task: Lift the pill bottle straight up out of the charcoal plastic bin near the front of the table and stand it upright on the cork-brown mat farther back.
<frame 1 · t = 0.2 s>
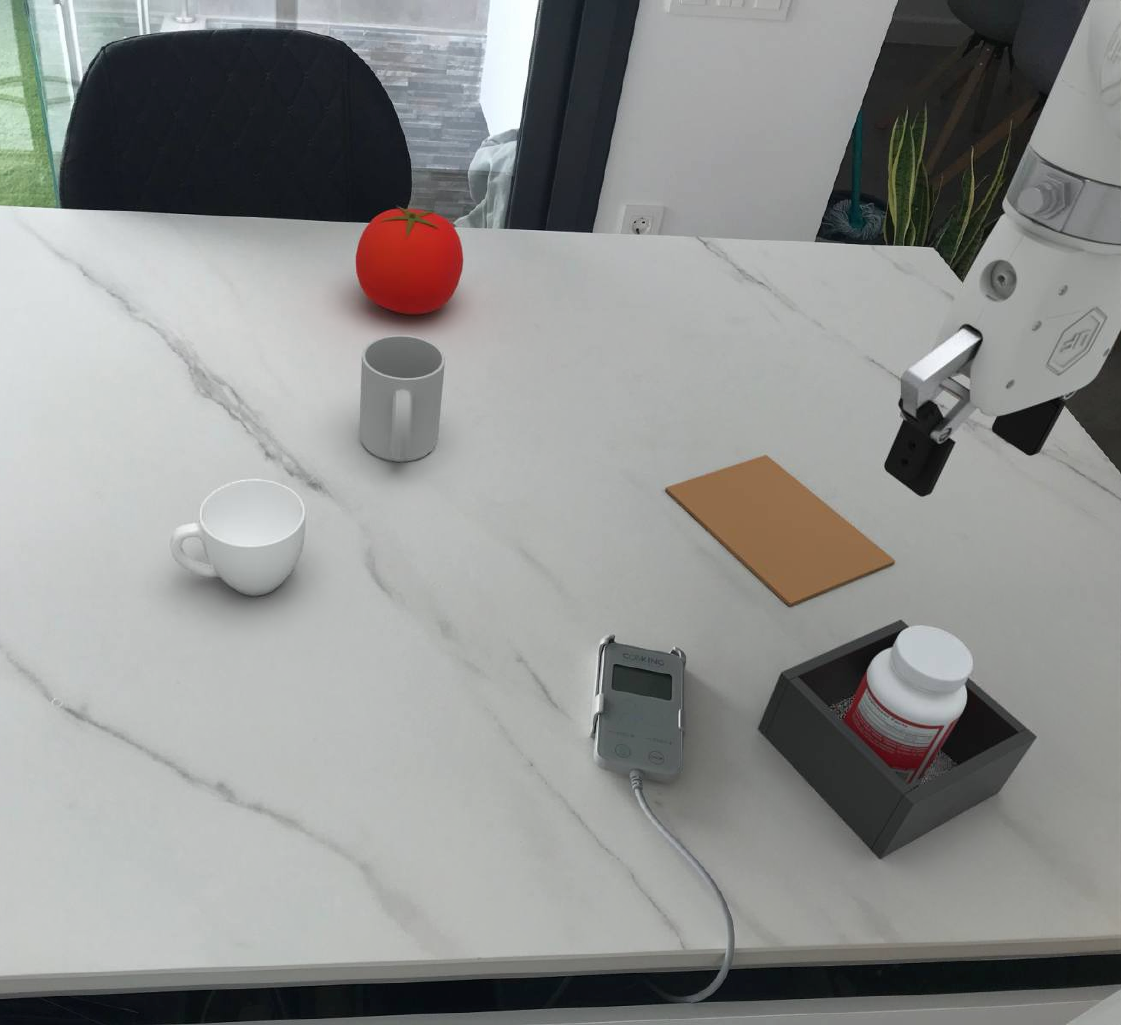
hand: (961, 462, 66), 21 cm above the table, tool pointing down, fingers open, 9 cm apart
pill bottle: (875, 761, 75), resting in bin
cup 2: (241, 580, 84), on the table
cork mat: (776, 526, 94), on the table
tomato: (406, 305, 118), on the table
cup: (398, 450, 98), on the table
bin: (876, 759, 75), on the table
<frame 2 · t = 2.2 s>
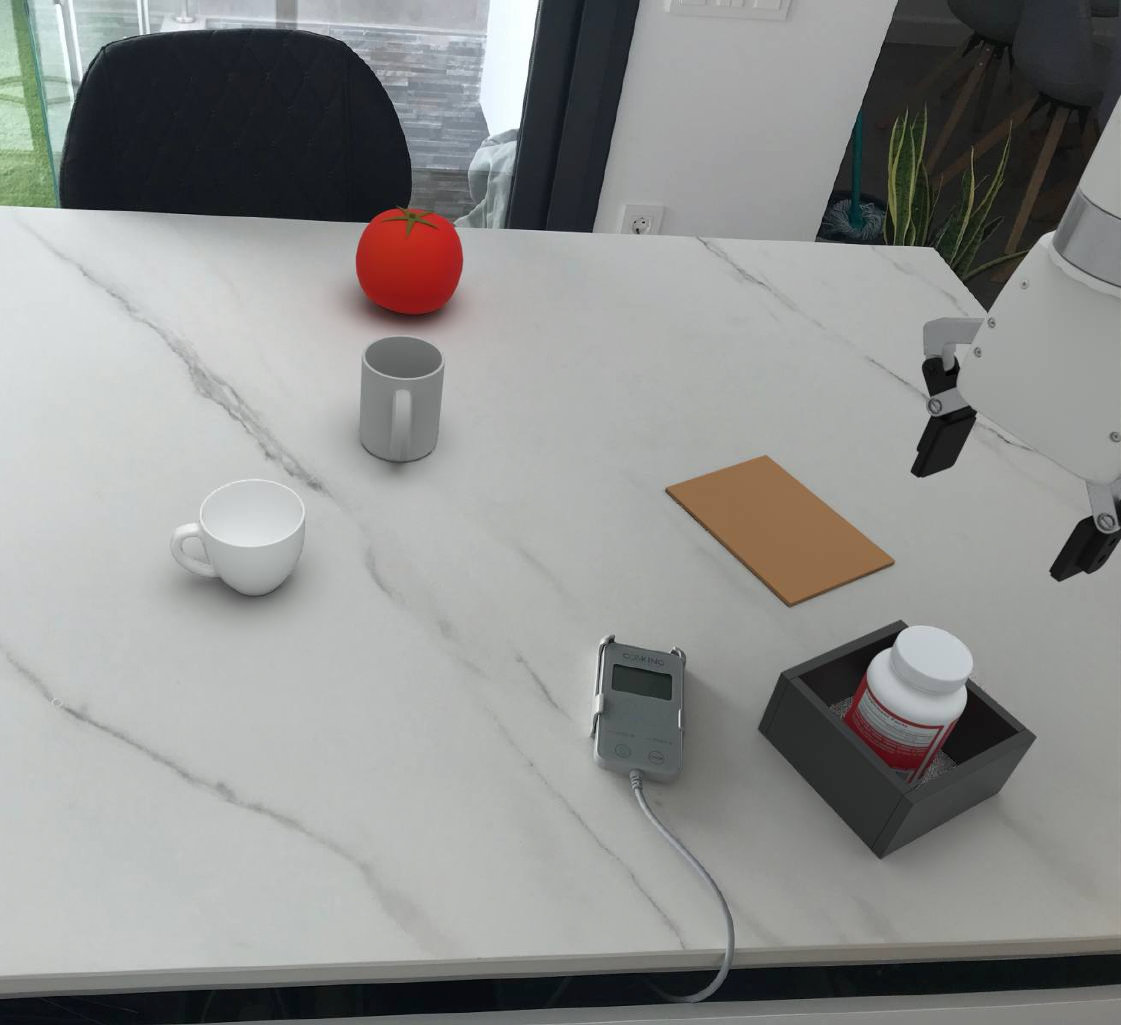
hand: (996, 518, 62), 21 cm above the table, tool pointing down, fingers open, 9 cm apart
nothing on the table moved.
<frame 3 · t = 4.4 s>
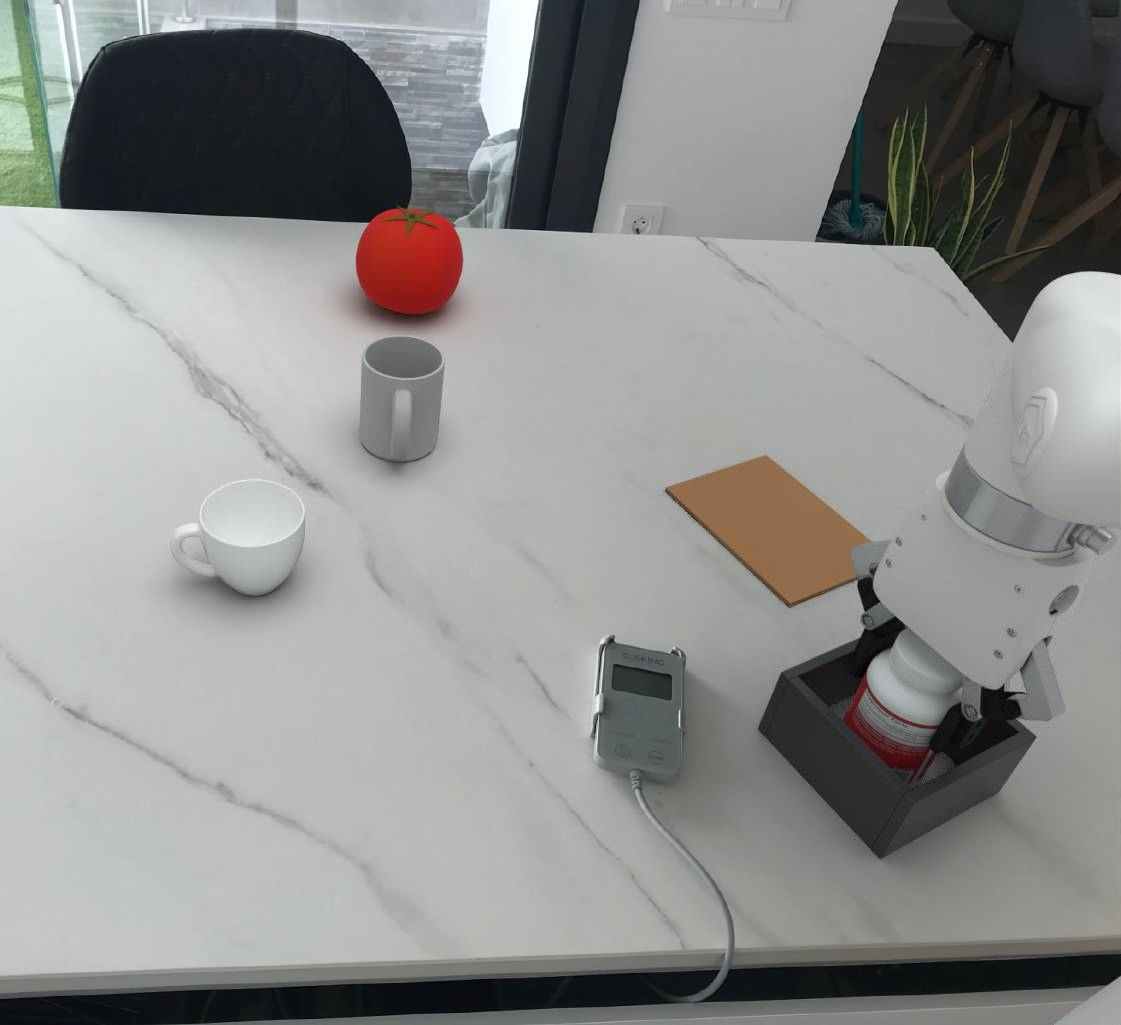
hand: (906, 703, 71), 6 cm above the table, tool pointing down, fingers closed on pill bottle, 6 cm apart
pill bottle: (875, 761, 75), resting in bin, touching gripper
everything else where it was.
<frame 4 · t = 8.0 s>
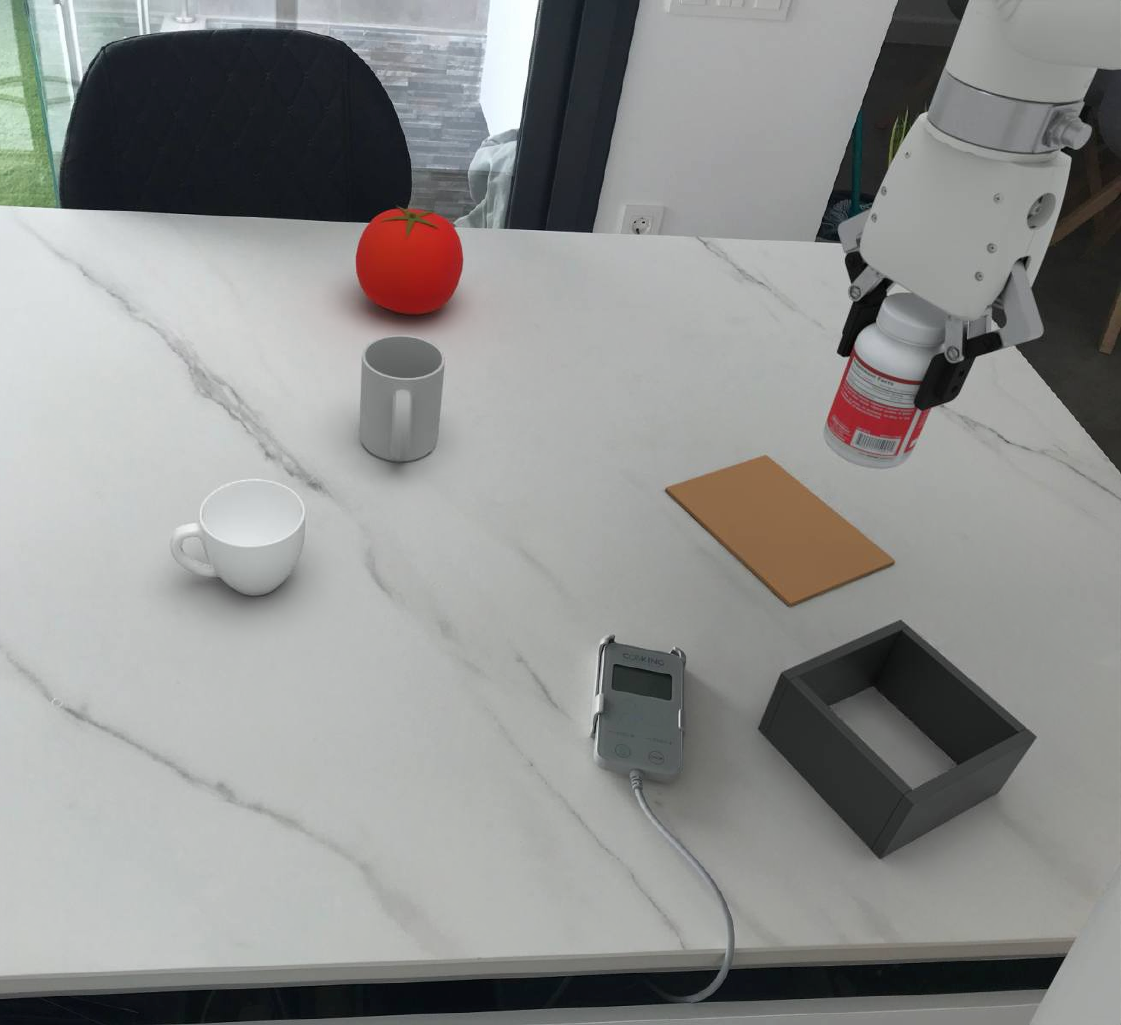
hand: (893, 375, 73), 21 cm above the table, tool pointing down, fingers closed on pill bottle, 6 cm apart
pill bottle: (863, 448, 77), point 15 cm above the table, touching gripper
everything else where it was.
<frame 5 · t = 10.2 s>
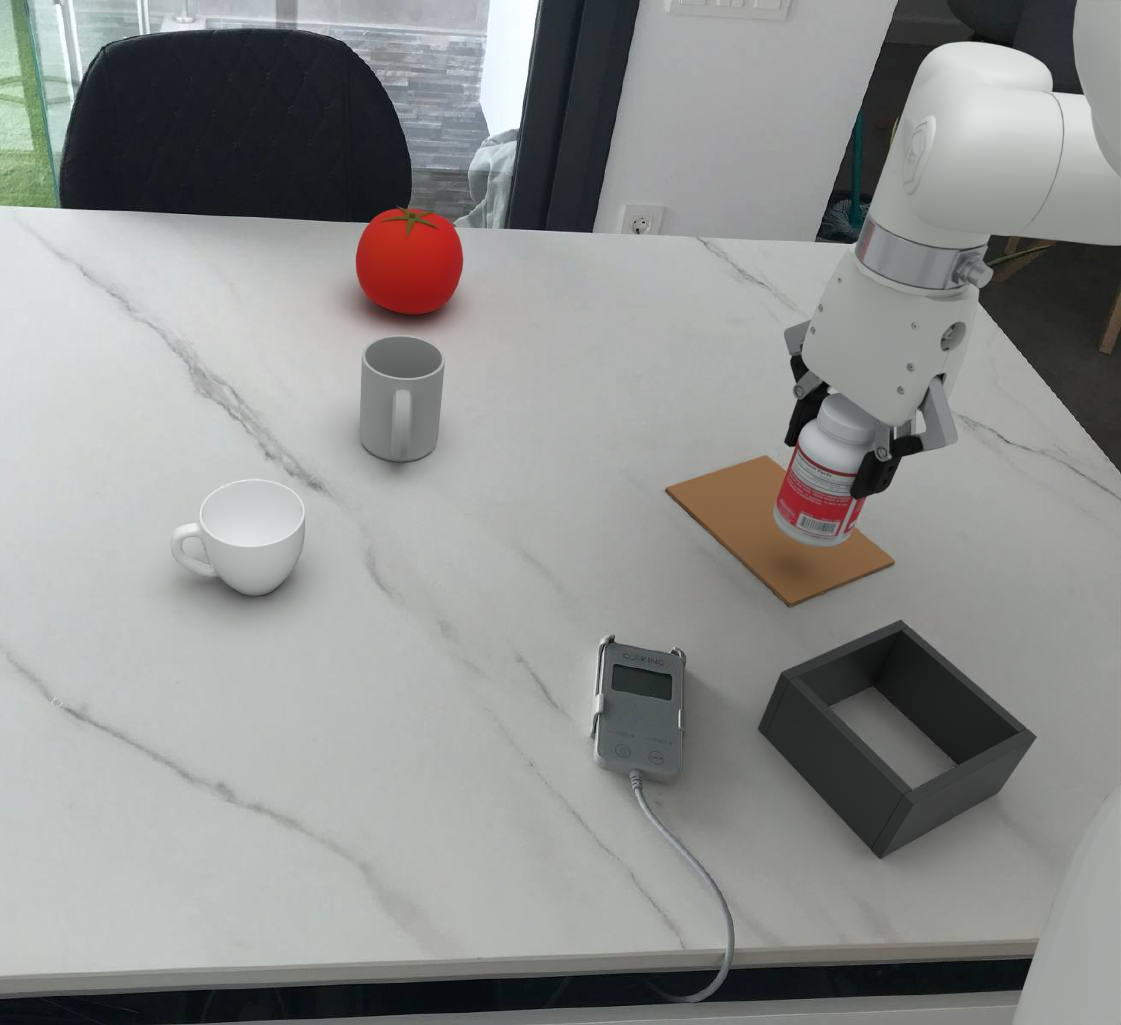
hand: (833, 464, 82), 11 cm above the table, tool pointing down, fingers closed on pill bottle, 6 cm apart
pill bottle: (809, 526, 86), point 5 cm above the table, touching gripper
everything else where it was.
when the fingers open (6 cm above the table, at t = 11.9 s): pill bottle stays where it is, resting on cork mat.
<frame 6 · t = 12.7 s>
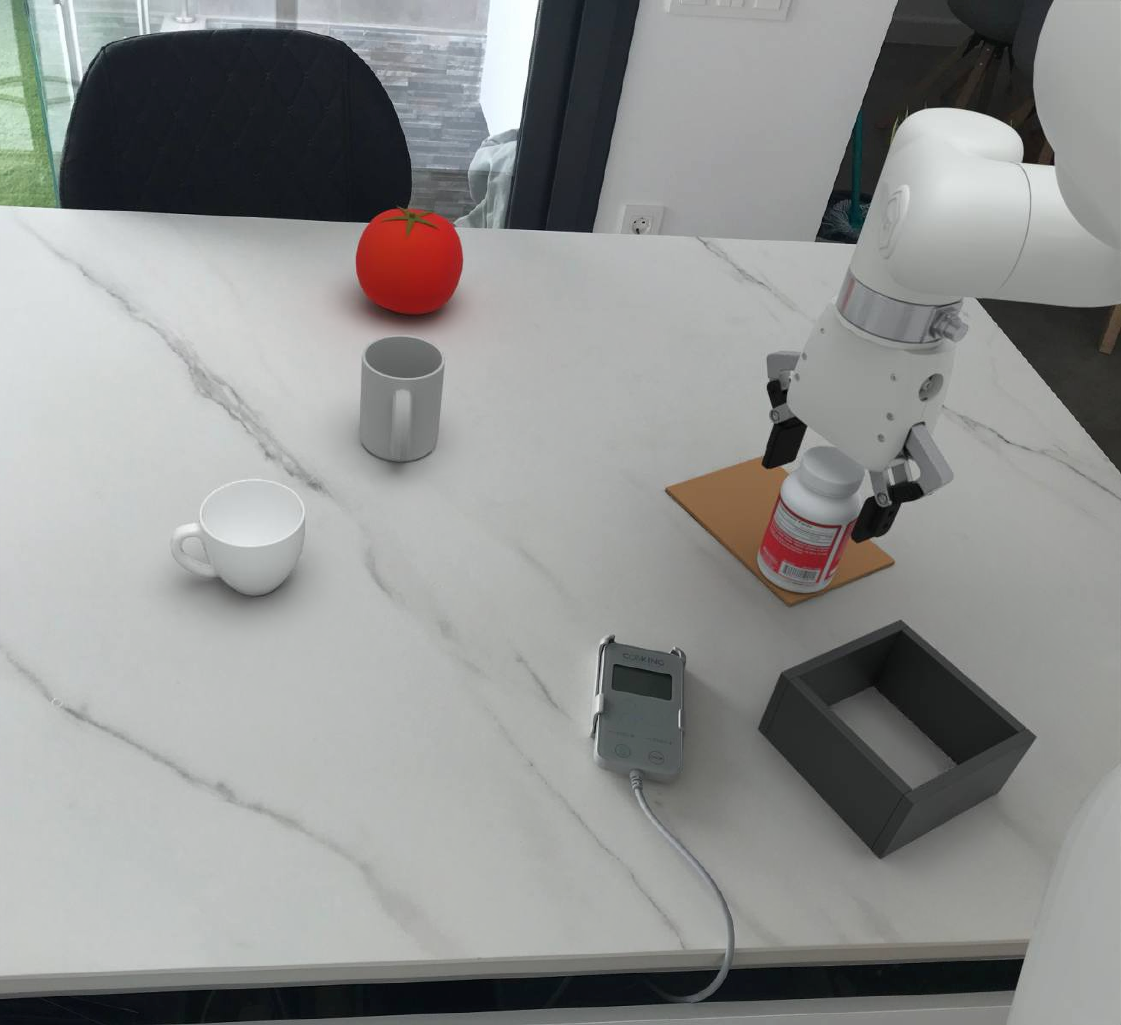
hand: (820, 498, 84), 8 cm above the table, tool pointing down, fingers open, 9 cm apart
pill bottle: (792, 571, 89), resting on cork mat
everything else where it was.
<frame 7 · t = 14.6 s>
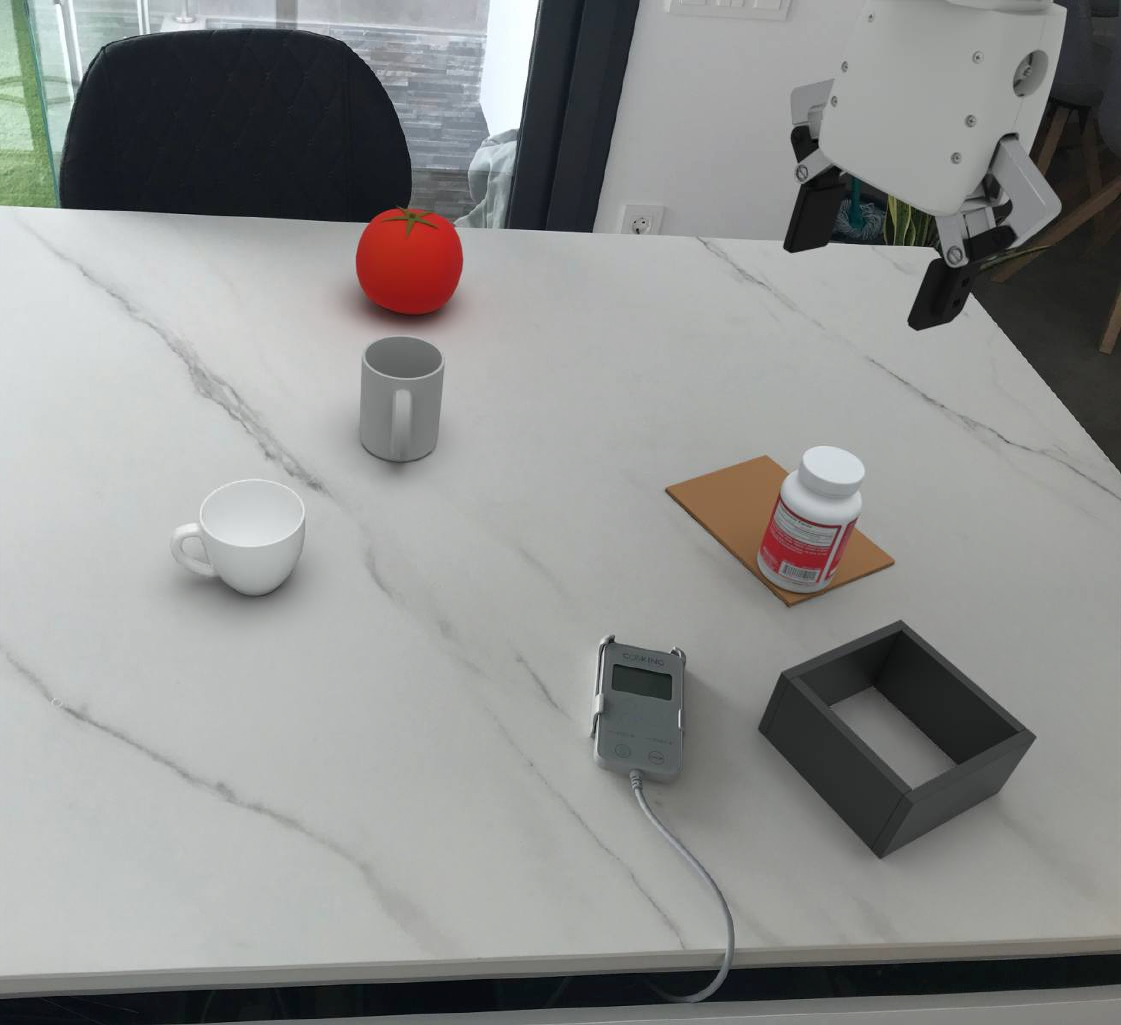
hand: (863, 284, 62), 31 cm above the table, tool pointing down, fingers open, 9 cm apart
nothing on the table moved.
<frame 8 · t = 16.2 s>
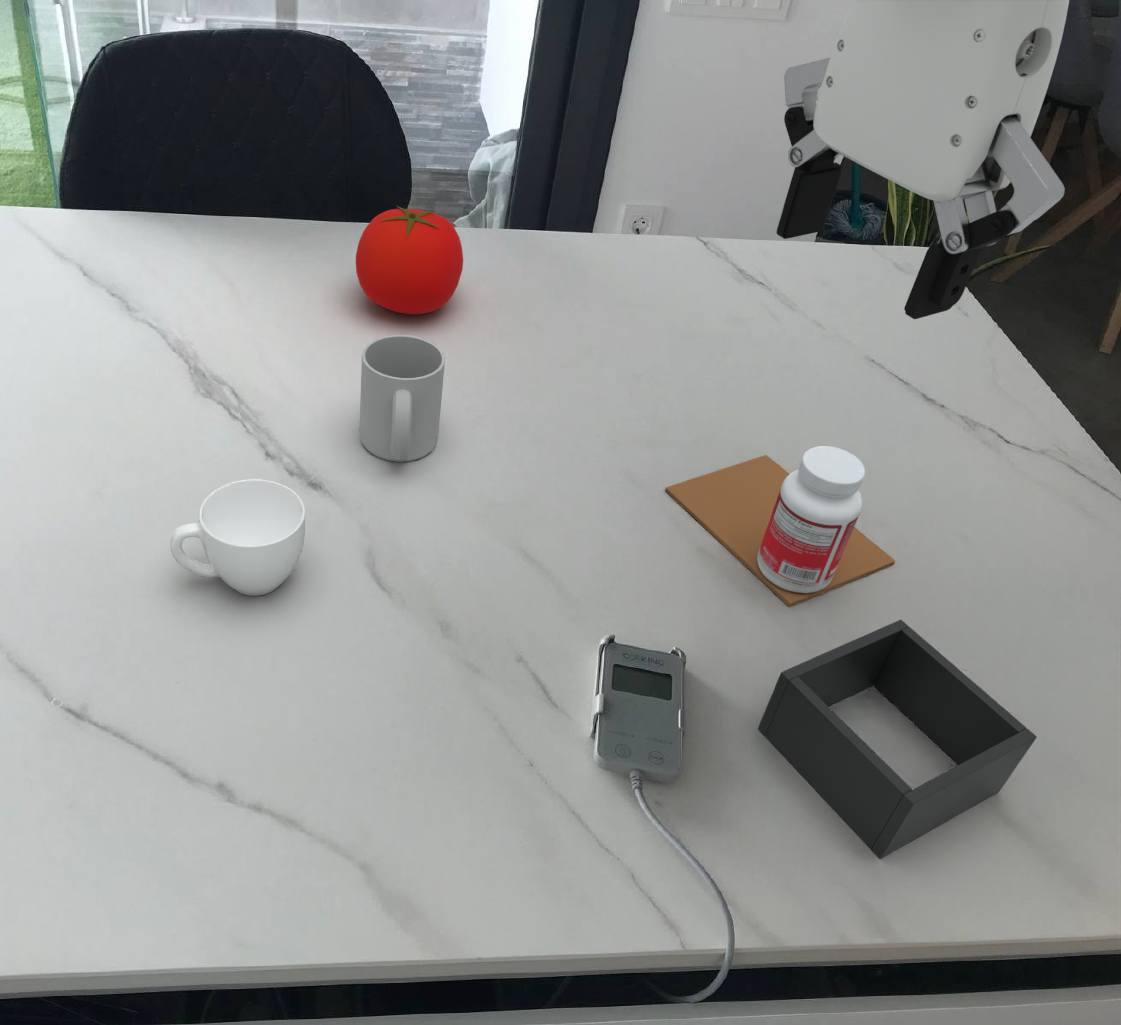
hand: (859, 270, 60), 32 cm above the table, tool pointing down, fingers open, 9 cm apart
nothing on the table moved.
at the end: pill bottle inside the target area on the cork mat (1.2 cm from its centre), point 0.2 cm above the cork mat's base; pill bottle tilted 0°; the gripper is holding nothing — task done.
